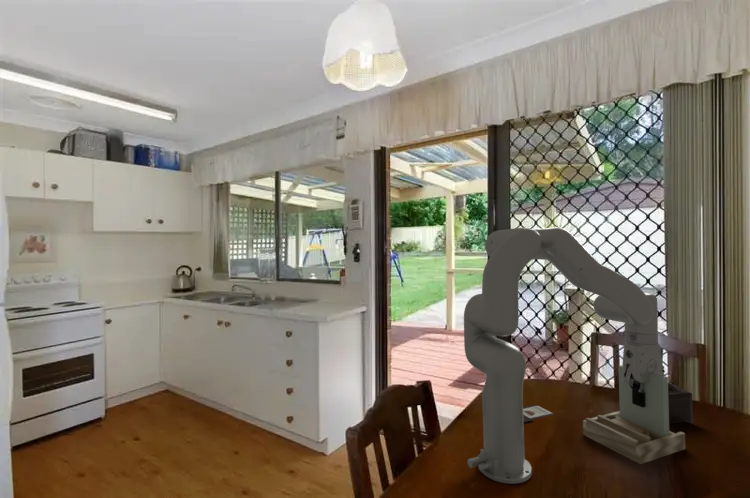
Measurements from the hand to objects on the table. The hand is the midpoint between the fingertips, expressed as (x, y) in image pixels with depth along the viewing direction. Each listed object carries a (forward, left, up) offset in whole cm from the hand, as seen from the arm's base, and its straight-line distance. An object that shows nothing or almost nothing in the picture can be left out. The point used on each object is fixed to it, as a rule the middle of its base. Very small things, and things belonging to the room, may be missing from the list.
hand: (642, 404), depth 104 cm
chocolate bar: (-18, +26, -11) cm, 33 cm away
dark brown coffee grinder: (+20, +9, -11) cm, 24 cm away
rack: (-4, 0, -10) cm, 11 cm away
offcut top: (-5, 0, -7) cm, 8 cm away
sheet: (0, 0, -6) cm, 6 cm away
